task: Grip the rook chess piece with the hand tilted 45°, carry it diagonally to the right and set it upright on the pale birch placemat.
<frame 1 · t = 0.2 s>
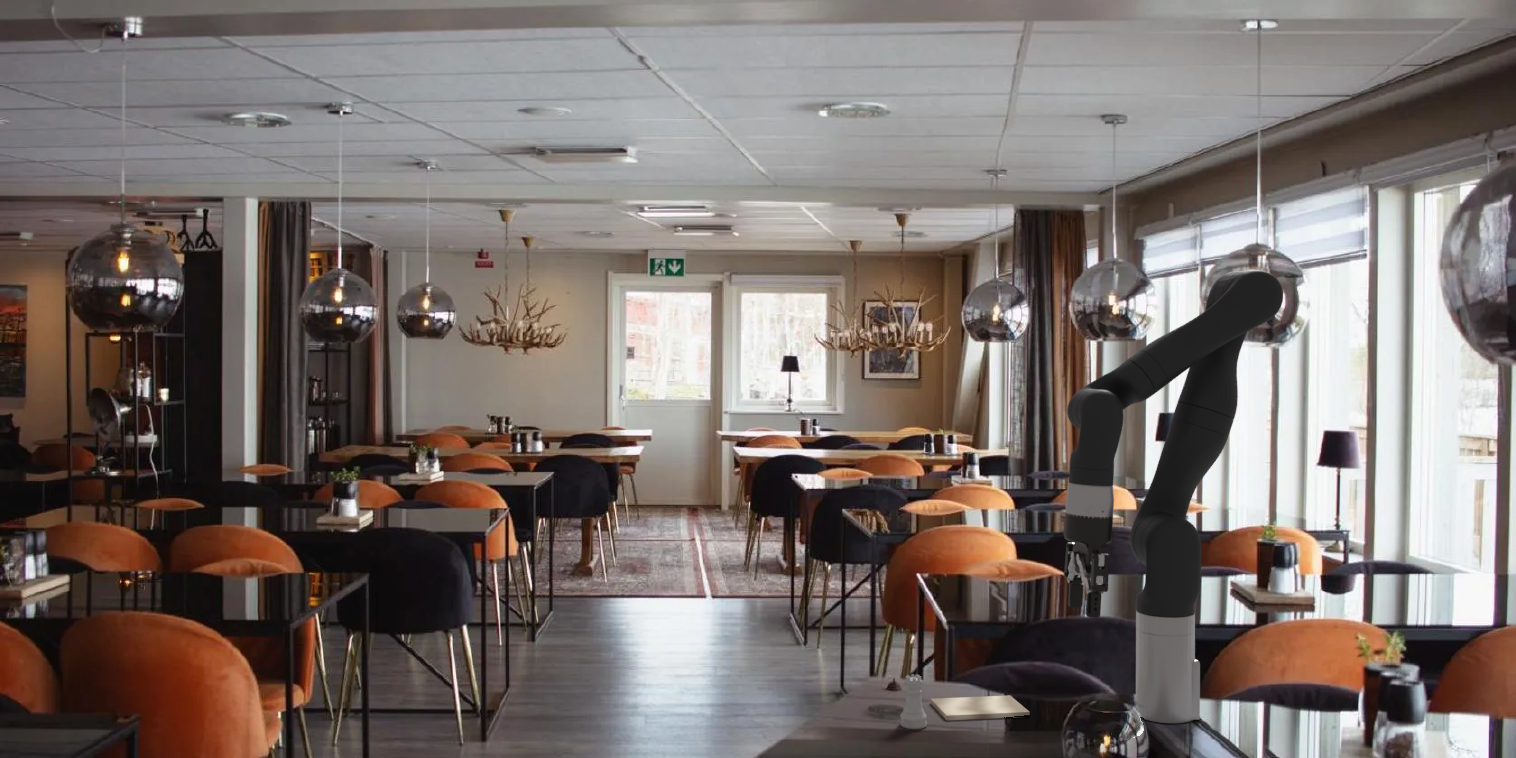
hand: (1083, 611, 210), 18 cm above the table, tool pointing down, fingers open, 8 cm apart
birch placemat: (979, 709, 217), on the table
rook chess piece: (913, 727, 209), on the table
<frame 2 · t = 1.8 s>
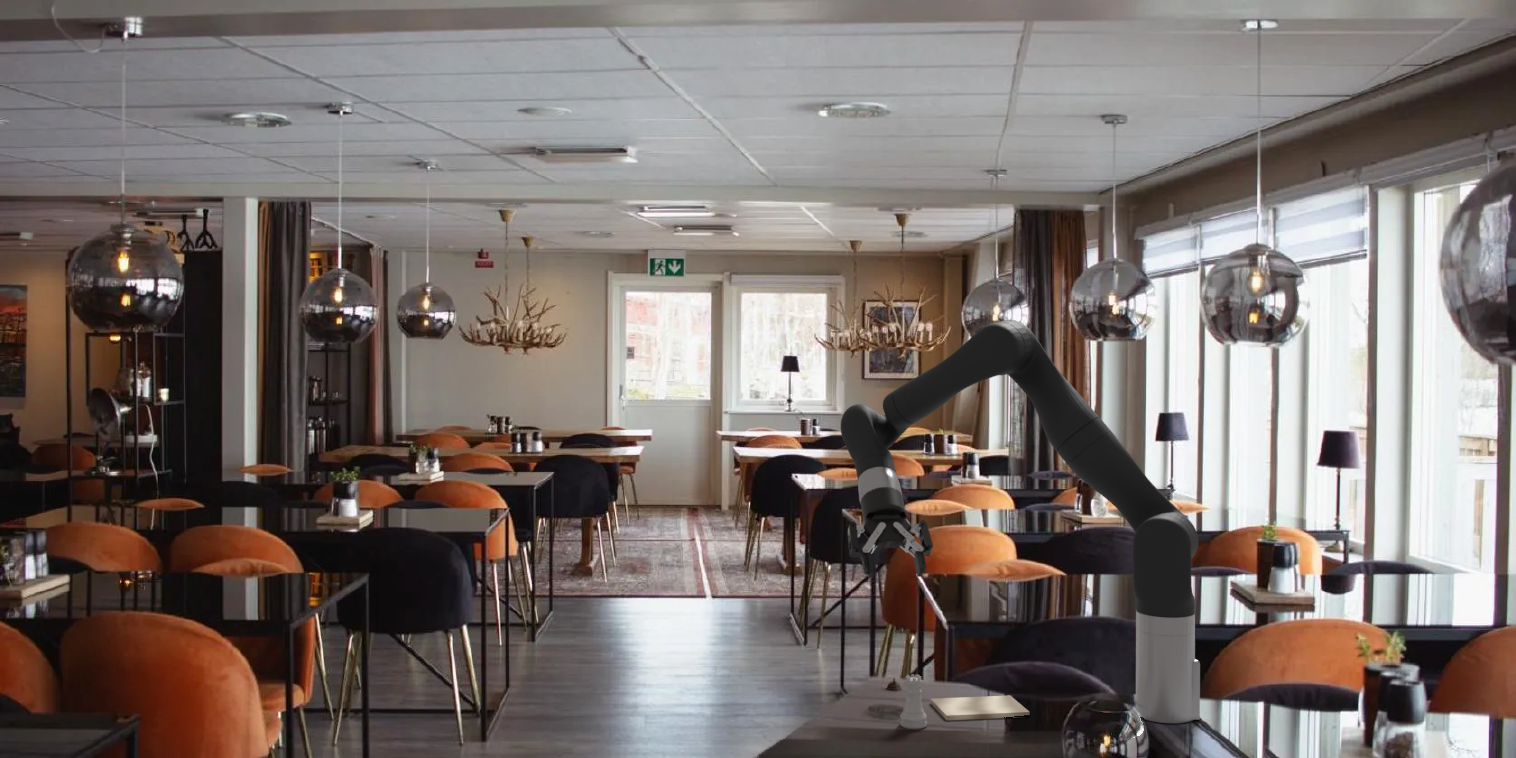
hand: (896, 574, 220), 22 cm above the table, tool tilted 45°, fingers open, 8 cm apart
nothing on the table moved.
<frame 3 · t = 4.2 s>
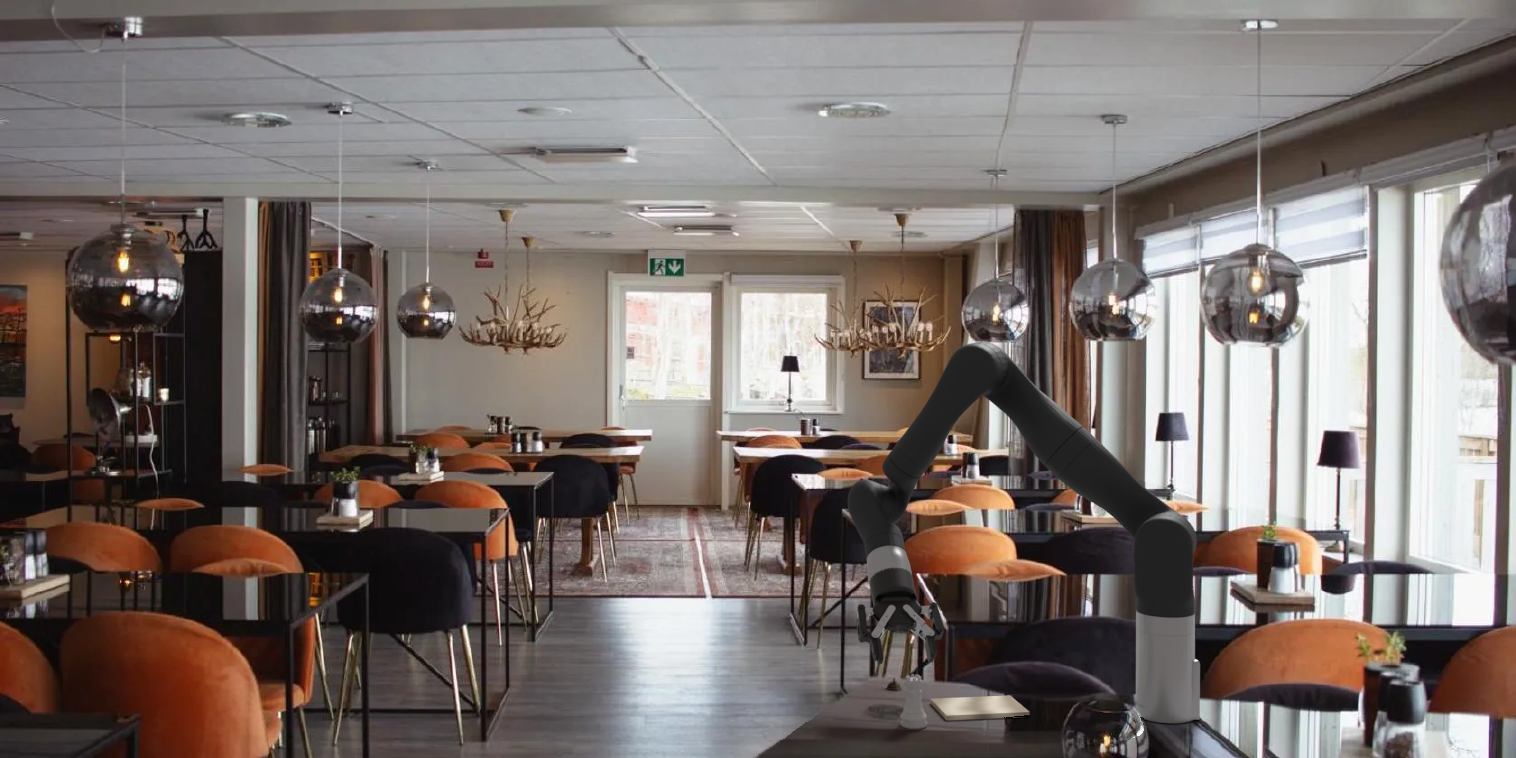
hand: (906, 660, 213), 9 cm above the table, tool tilted 45°, fingers open, 8 cm apart
nothing on the table moved.
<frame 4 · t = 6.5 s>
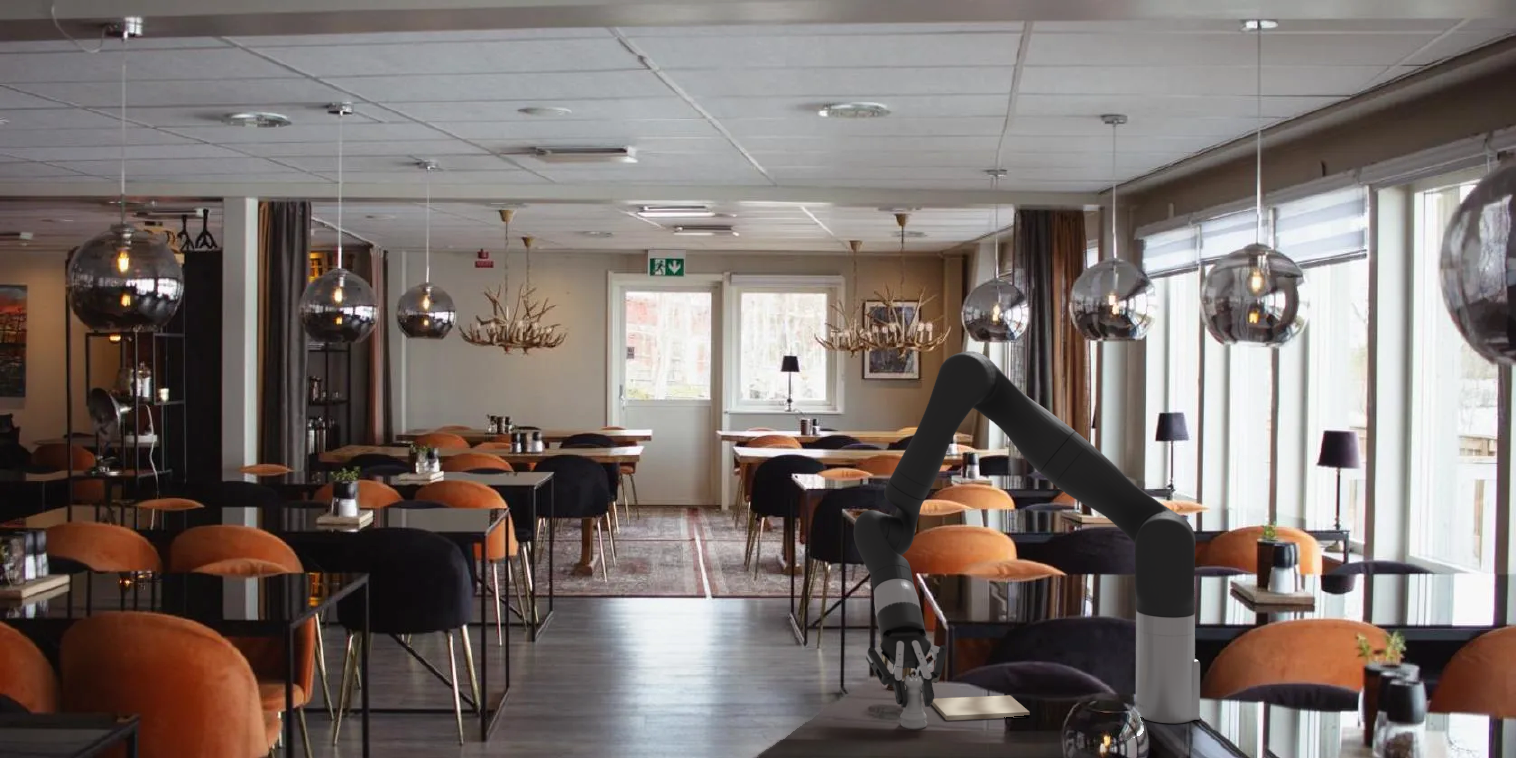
hand: (916, 704, 207), 4 cm above the table, tool tilted 45°, fingers closed on rook chess piece, 3 cm apart
rook chess piece: (913, 726, 209), on the table, touching gripper
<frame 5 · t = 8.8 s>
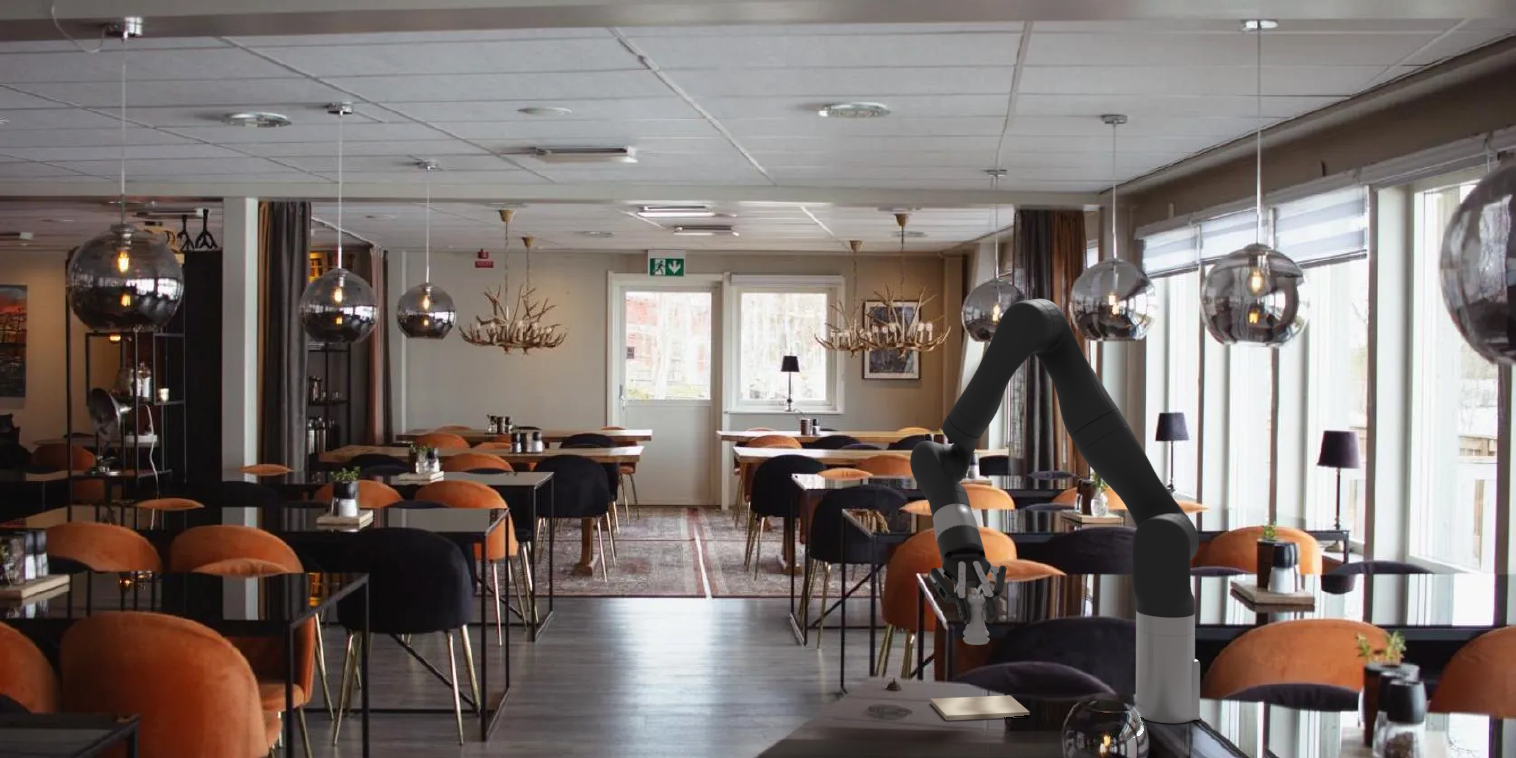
hand: (979, 620, 214), 16 cm above the table, tool tilted 45°, fingers closed on rook chess piece, 3 cm apart
rook chess piece: (976, 643, 216), point 11 cm above the table, touching gripper
when the fingers open (6 cm above the table, at t = 11.1 s): rook chess piece stays where it is, resting on birch placemat.
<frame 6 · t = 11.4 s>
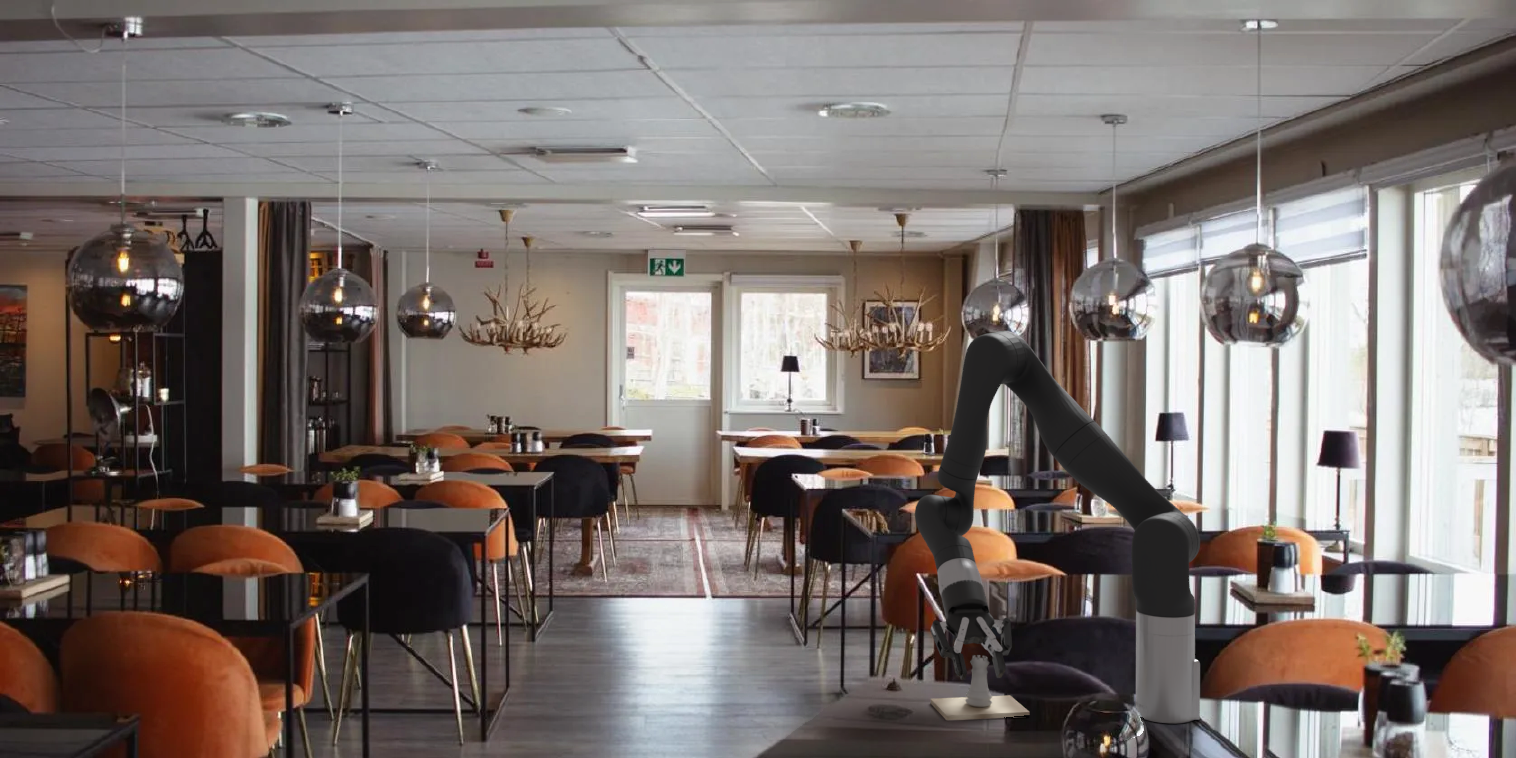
hand: (982, 675, 215), 6 cm above the table, tool tilted 45°, fingers open, 5 cm apart
rook chess piece: (978, 705, 218), point 1 cm above the table, touching birch placemat
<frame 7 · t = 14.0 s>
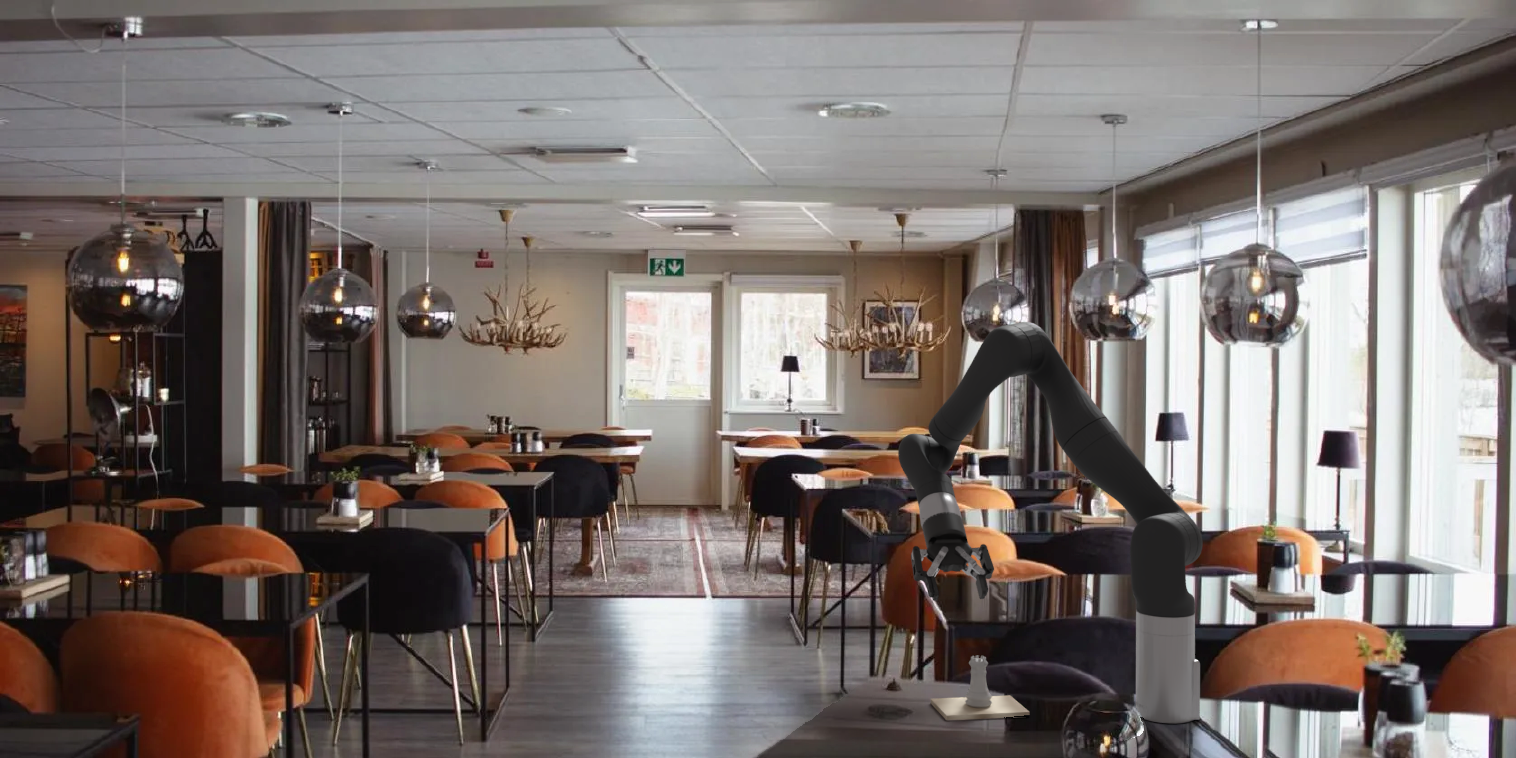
hand: (959, 597, 228), 17 cm above the table, tool tilted 45°, fingers open, 8 cm apart
nothing on the table moved.
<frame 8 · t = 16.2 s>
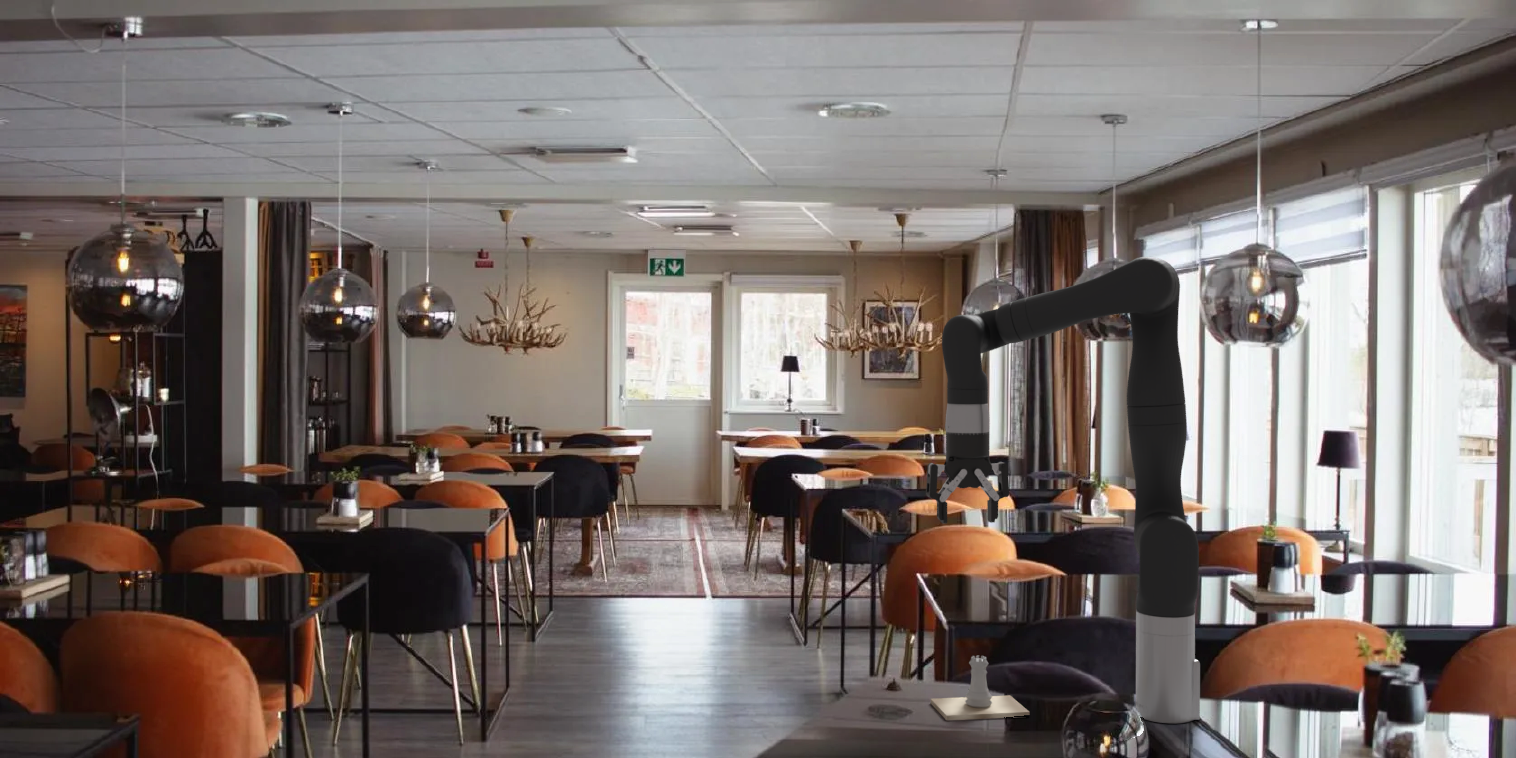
hand: (967, 522, 226), 30 cm above the table, tool pointing down, fingers open, 8 cm apart
nothing on the table moved.
at the end: rook chess piece inside the target area on the birch placemat (0.2 cm from its centre), point 0.6 cm above the birch placemat's base; rook chess piece tilted 0°; the gripper is holding nothing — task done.
